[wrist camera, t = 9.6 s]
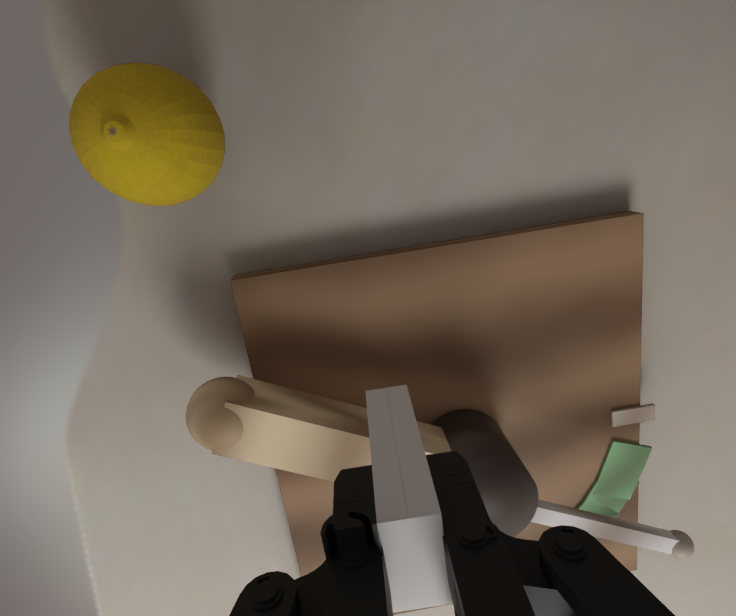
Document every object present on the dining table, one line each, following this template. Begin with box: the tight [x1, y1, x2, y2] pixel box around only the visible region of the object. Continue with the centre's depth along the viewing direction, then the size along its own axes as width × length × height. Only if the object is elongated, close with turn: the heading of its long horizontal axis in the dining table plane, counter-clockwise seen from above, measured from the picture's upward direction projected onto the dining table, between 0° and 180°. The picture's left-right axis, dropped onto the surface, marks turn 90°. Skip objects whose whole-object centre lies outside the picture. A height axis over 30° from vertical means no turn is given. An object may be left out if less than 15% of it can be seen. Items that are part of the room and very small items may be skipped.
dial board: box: [230, 211, 655, 615], centre depth 29 cm, size 24×23×1 cm
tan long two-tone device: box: [186, 375, 694, 559], centre depth 26 cm, size 27×5×5 cm, turn 72°
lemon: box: [69, 63, 225, 206], centre depth 20 cm, size 6×6×8 cm
